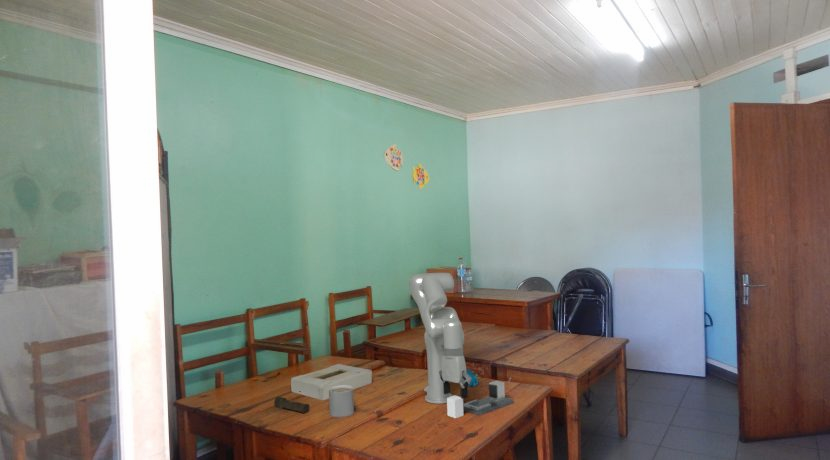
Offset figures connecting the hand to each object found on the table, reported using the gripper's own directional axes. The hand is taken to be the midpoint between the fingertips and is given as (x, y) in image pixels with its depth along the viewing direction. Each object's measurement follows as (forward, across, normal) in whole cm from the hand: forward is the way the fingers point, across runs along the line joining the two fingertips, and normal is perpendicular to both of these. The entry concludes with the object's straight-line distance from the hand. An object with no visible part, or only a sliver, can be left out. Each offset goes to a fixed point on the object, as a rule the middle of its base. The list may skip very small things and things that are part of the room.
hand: (455, 395), depth 206 cm
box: (+6, -71, -14) cm, 72 cm away
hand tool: (+7, -56, -44) cm, 72 cm away
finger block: (+8, -1, +1) cm, 8 cm away
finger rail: (+8, +1, +18) cm, 19 cm away
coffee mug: (+7, -37, -28) cm, 47 cm away
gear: (+7, -26, +35) cm, 44 cm away
